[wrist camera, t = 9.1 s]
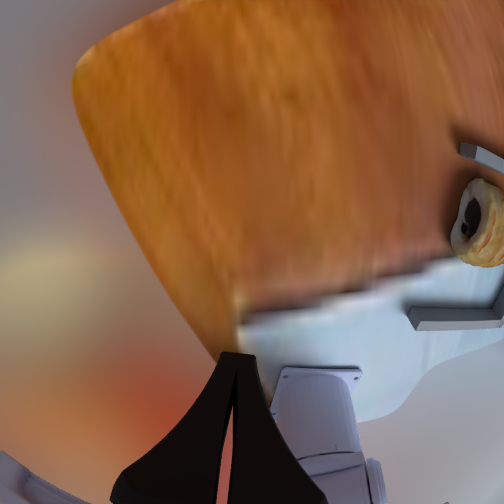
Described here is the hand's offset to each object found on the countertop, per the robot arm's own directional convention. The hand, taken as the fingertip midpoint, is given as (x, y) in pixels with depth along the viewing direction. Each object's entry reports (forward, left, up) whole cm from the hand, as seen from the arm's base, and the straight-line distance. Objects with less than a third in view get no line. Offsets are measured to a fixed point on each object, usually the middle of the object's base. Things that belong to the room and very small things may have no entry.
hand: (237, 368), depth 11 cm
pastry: (+6, -19, -10) cm, 22 cm away
